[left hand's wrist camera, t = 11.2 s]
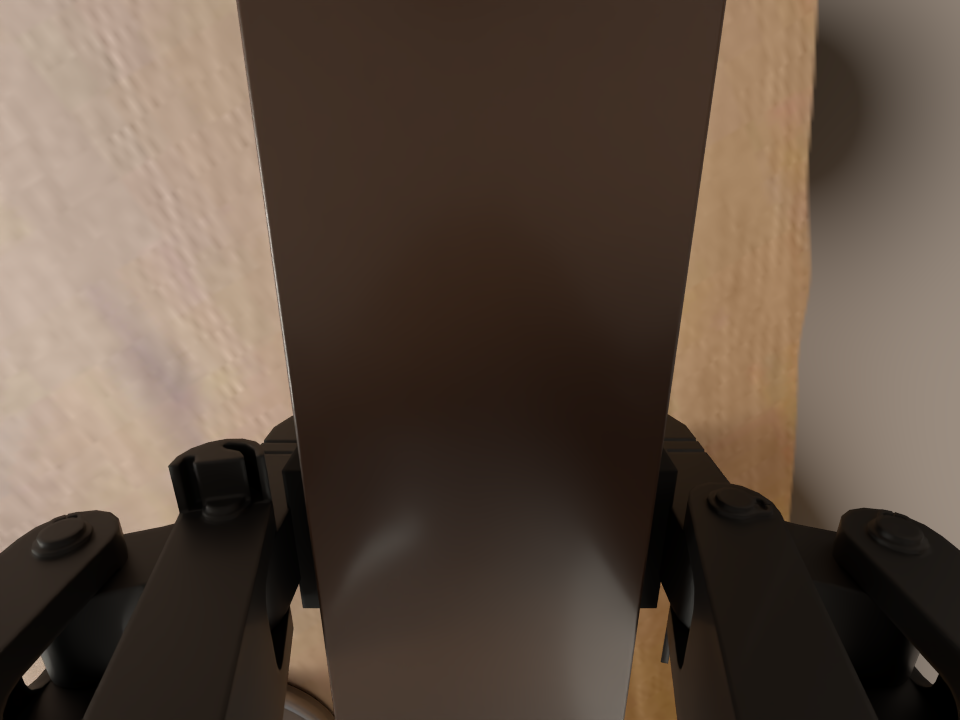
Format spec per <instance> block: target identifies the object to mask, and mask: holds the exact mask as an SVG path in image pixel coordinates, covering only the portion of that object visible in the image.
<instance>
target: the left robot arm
mask: <svg viewBox="0 0 960 720" xmlns="http://www.w3.org/2000/svg"><path fill="white" fill-rule="evenodd" d="M168 467H169V471H170V475H171V479H172V483H173V487H174V491H175V496H176V500H177V504H178V508H179V512H180V514H179V516H178V518H177V520H176V522H175V524H171V525H167V526H163V527H158V528H153V529H148V530H143V531H138V532H133V533H128V534H123V532H122V528H121V525H120V522H119V518H117V517H116V516H115V515H113V514H112V513H111V512H105V511H98V510H94V511H84V512H75V513H70V514H68V515H63V516H60V517H57V518H54V519H52V520H51V521H49V522H47V523H44V524H42V525H40V526H38V527H36V528H34V529H32V530H31V531H29V532H28V533H26V534H25V535H23V536H22V537H20V538H19V539H17V540H16V541H15V542H14V543H12V544H11V545H10V546H9V547H8V548H6V549H5V550H4V551H3V552H1V553H0V720H335V717H334V716H333V715H332V713H331V712H330V711H329V710H328V709H327V708H326V707H325V706H323V705H322V704H321V703H320V702H319V701H317V700H316V699H314V698H313V697H312V696H310V695H308V694H307V693H305V692H303V691H301V690H299V689H297V688H295V687H293V686H290V685H288V684H287V680H288V671H289V662H290V654H291V645H292V636H293V622H292V615H291V609H290V604H291V601H292V599H293V597H294V594H295V592H296V589H297V587H298V585H299V586H300V592H301V598H302V605H303V608H320V606H319V598H318V591H317V584H316V576H315V569H314V562H313V555H312V547H311V540H310V533H309V526H308V518H307V511H306V504H305V496H304V489H303V482H302V475H301V467H300V460H299V453H298V446H297V438H296V431H295V424H294V417H293V416H291V417H290V418H288V419H286V420H285V421H283V422H282V423H280V424H278V425H277V426H275V427H274V428H273V429H272V431H271V432H270V433H269V435H268V436H267V437H266V439H265V440H264V443H262V444H261V445H260V444H258V443H257V442H255V441H251V440H246V439H224V440H218V441H213V442H208V443H205V444H202V445H200V446H197V447H194V448H191V449H190V450H188V451H186V452H184V453H183V454H181V455H179V456H178V457H176V458H175V460H174V461H173V462H172V463H171V464H170V465H169V466H168ZM660 583H662V585H663V588H664V590H665V592H666V595H667V597H668V600H669V602H670V609H669V615H668V621H667V627H666V633H665V639H664V645H663V651H662V658H661V662H662V663H667V664H668V660H669V655H670V661H671V670H672V678H673V687H674V696H675V704H676V713H677V720H960V550H958V549H957V548H956V547H955V546H954V545H952V544H951V543H950V542H949V541H947V540H946V539H945V538H944V537H943V536H941V535H939V534H938V533H936V532H935V531H933V530H932V529H930V528H929V527H927V526H926V525H924V524H922V523H919V522H917V521H915V520H913V519H910V518H909V517H907V516H905V515H902V514H899V513H896V512H895V513H893V512H892V511H888V510H883V509H870V508H859V509H853V510H849V511H848V512H846V513H845V514H844V515H842V517H841V520H840V523H839V527H838V530H837V532H834V531H829V530H824V529H818V528H813V527H808V526H803V525H798V524H794V523H790V522H786V521H784V519H783V517H782V515H781V513H780V511H779V510H778V509H777V508H776V506H775V505H774V504H773V503H772V502H771V501H770V500H768V499H767V498H765V497H764V496H762V495H761V494H759V493H758V492H755V491H753V490H750V489H748V488H745V487H743V486H739V485H735V484H730V483H729V481H728V480H727V479H726V477H725V476H724V475H723V473H722V472H721V471H720V469H719V468H718V467H717V466H716V464H715V463H714V462H713V460H712V459H711V458H710V456H709V455H708V454H707V453H706V452H704V449H703V447H702V446H701V445H700V443H699V442H698V441H696V438H695V437H694V436H693V434H692V433H691V432H690V430H689V429H688V428H687V426H686V425H684V424H683V423H681V422H679V421H678V420H676V419H675V418H673V417H671V416H670V415H668V414H667V421H666V428H665V435H664V442H663V449H662V456H661V463H660V470H659V477H658V484H657V491H656V498H655V505H654V512H653V519H652V527H651V534H650V541H649V548H648V555H647V562H646V569H645V576H644V583H643V590H642V597H641V604H640V608H657V602H658V596H659V590H660ZM919 653H921V655H922V656H923V657H924V658H925V659H926V660H927V661H928V662H929V663H930V665H931V666H932V667H933V668H934V669H935V670H936V671H937V672H938V673H939V675H938V677H937V680H936V682H935V683H934V684H931V683H930V682H929V681H928V680H927V679H926V678H924V677H923V676H922V674H921V673H920V672H919V671H918V670H917V669H916V667H915V663H916V661H917V658H918V656H919ZM40 656H41V657H42V660H43V662H44V664H45V667H46V669H45V670H44V671H43V672H42V674H41V675H40V676H39V677H38V678H37V679H36V680H35V681H34V682H33V683H31V684H30V685H29V686H26V685H25V683H24V681H23V679H22V676H23V675H24V674H25V673H26V671H27V670H28V669H29V668H30V667H31V666H32V665H33V664H34V662H35V661H36V660H37V659H38V658H39V657H40Z"/></svg>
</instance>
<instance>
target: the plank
mask: <svg viewBox="0 0 960 720" xmlns="http://www.w3.org/2000/svg"><path fill="white" fill-rule="evenodd" d="M236 2H237V9H238V17H239V24H240V31H241V39H242V46H243V53H244V60H245V68H246V75H247V82H248V89H249V97H250V104H251V111H252V118H253V126H254V133H255V140H256V148H257V155H258V162H259V169H260V177H261V184H262V191H263V198H264V206H265V213H266V220H267V228H268V235H269V242H270V249H271V257H272V264H273V271H274V278H275V286H276V293H277V300H278V307H279V315H280V322H281V329H282V337H283V344H284V351H285V358H286V366H287V373H288V380H289V387H290V395H291V402H292V409H293V417H294V424H295V431H296V438H297V446H298V453H299V460H300V467H301V475H302V482H303V489H304V496H305V504H306V511H307V518H308V526H309V533H310V540H311V547H312V555H313V562H314V569H315V576H316V584H317V591H318V598H319V606H320V613H321V620H322V627H323V635H324V642H325V649H326V656H327V664H328V671H329V678H330V685H331V693H332V700H333V707H334V715H335V720H624V717H625V710H626V703H627V696H628V689H629V682H630V674H631V667H632V660H633V653H634V646H635V639H636V632H637V625H638V618H639V611H640V604H641V597H642V590H643V583H644V576H645V569H646V562H647V555H648V548H649V541H650V534H651V527H652V519H653V512H654V505H655V498H656V491H657V484H658V477H659V470H660V463H661V456H662V449H663V442H664V435H665V428H666V421H667V414H668V407H669V400H670V393H671V386H672V379H673V372H674V364H675V357H676V350H677V343H678V336H679V329H680V322H681V315H682V308H683V301H684V294H685V287H686V280H687V273H688V266H689V259H690V252H691V245H692V238H693V231H694V224H695V217H696V209H697V202H698V195H699V188H700V181H701V174H702V167H703V160H704V153H705V146H706V139H707V132H708V125H709V118H710V111H711V104H712V97H713V90H714V83H715V76H716V69H717V62H718V54H719V47H720V40H721V33H722V26H723V19H724V12H725V5H726V0H236Z"/></svg>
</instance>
